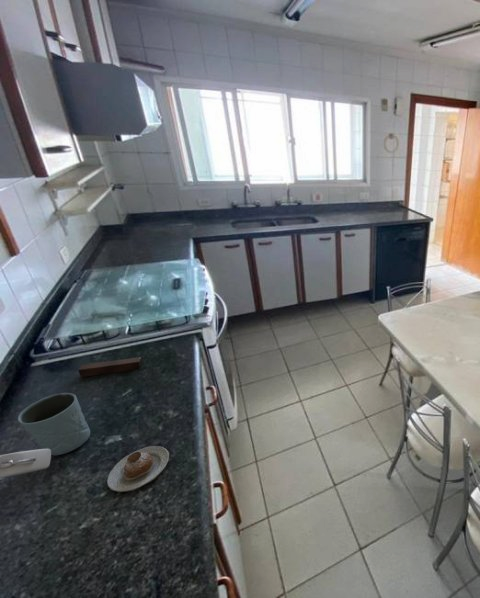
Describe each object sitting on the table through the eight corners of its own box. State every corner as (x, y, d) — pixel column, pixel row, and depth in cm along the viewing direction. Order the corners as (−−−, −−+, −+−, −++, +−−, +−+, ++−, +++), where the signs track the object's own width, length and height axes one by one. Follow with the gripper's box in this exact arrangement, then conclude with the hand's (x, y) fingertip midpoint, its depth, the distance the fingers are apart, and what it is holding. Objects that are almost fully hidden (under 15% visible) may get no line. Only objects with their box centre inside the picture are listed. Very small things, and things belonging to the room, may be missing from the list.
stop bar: (80, 377, 107) (77, 369, 105) (84, 371, 109) (81, 364, 108) (140, 369, 112) (138, 361, 111) (143, 364, 115) (140, 356, 114)
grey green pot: (101, 422, 90) (83, 389, 85) (83, 452, 82) (63, 417, 77) (54, 432, 87) (33, 397, 82) (31, 464, 79) (6, 428, 73)
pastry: (173, 443, 86) (168, 430, 84) (165, 482, 76) (159, 469, 74) (117, 458, 82) (110, 445, 79) (101, 502, 72) (93, 489, 70)
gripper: (24, 441, 56) (70, 439, 69) (-159, 475, 49) (-71, 465, 61) (19, 481, 55) (68, 471, 67) (-172, 522, 47) (-78, 503, 59)
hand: (0, 469), depth 64 cm, fingers closed
